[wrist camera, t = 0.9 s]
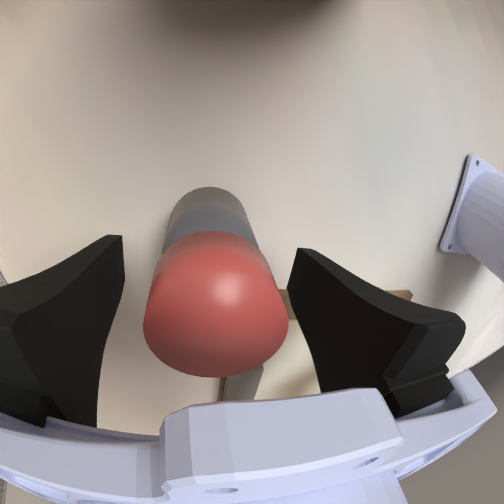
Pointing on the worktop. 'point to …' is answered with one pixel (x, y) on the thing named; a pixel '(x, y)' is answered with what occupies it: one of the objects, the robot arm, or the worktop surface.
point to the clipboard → (281, 367)
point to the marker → (213, 291)
